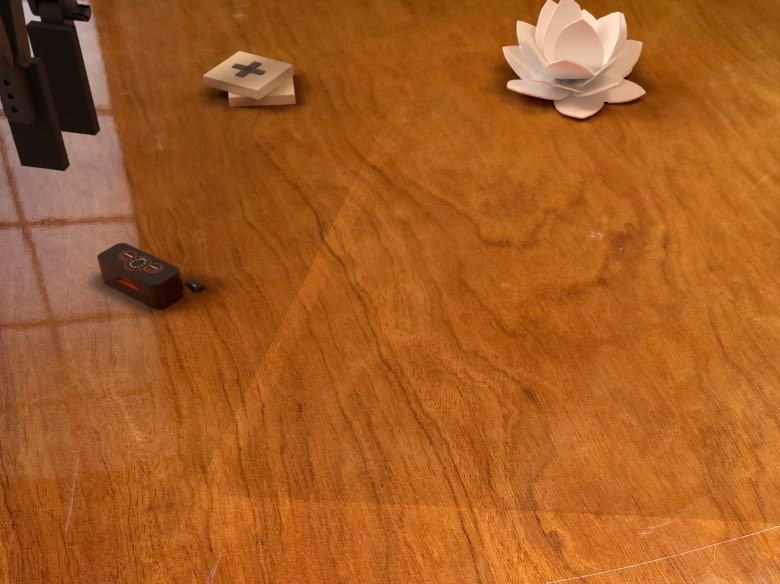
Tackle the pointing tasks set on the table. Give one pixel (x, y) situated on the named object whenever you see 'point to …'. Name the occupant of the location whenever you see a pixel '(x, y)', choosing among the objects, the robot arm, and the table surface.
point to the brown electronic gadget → (144, 276)
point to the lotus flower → (574, 59)
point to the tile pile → (253, 80)
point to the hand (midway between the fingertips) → (61, 146)
